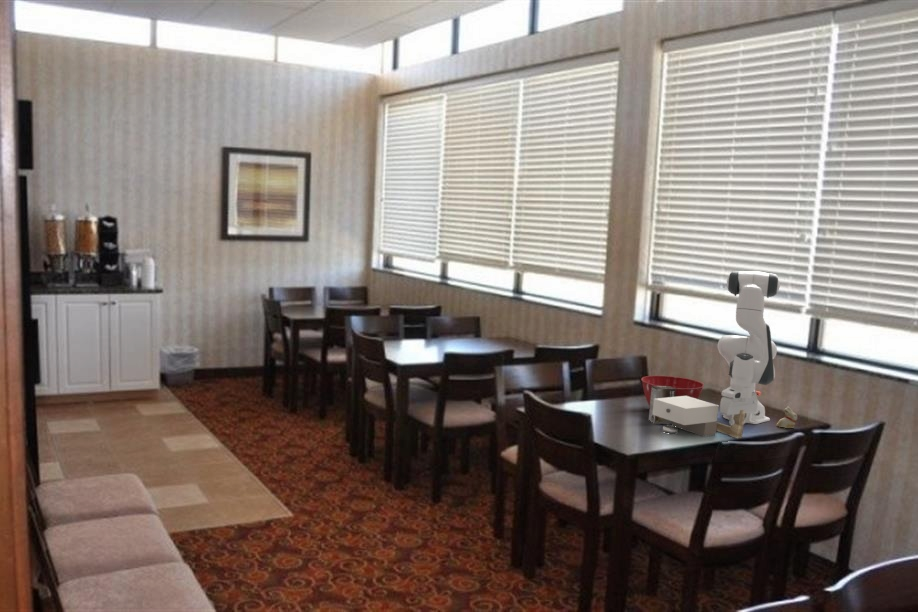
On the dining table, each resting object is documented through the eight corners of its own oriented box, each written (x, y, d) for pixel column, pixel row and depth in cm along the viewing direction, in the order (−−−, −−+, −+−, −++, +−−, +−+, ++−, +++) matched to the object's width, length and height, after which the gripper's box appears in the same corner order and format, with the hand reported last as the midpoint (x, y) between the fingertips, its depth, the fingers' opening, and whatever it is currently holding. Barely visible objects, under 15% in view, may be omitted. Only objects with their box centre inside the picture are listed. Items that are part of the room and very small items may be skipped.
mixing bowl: (637, 416, 372) (640, 383, 370) (639, 403, 400) (642, 372, 398) (701, 424, 366) (705, 390, 364) (698, 410, 393) (702, 379, 391)
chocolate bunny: (792, 430, 366) (795, 408, 365) (775, 426, 371) (777, 405, 370) (796, 428, 371) (799, 407, 369) (779, 424, 376) (781, 403, 374)
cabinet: (683, 424, 364) (686, 395, 362) (715, 435, 349) (718, 405, 347) (649, 428, 352) (652, 398, 351) (681, 439, 337) (684, 408, 336)
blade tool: (702, 424, 365) (705, 398, 364) (742, 437, 347) (745, 410, 346) (697, 425, 364) (700, 398, 362) (737, 438, 346) (740, 410, 344)
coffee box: (666, 420, 368) (670, 385, 367) (673, 424, 362) (676, 389, 360) (647, 420, 367) (651, 385, 365) (654, 424, 360) (657, 388, 358)
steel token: (669, 430, 352) (670, 424, 352) (680, 434, 347) (680, 428, 347) (659, 431, 349) (660, 425, 348) (670, 435, 344) (670, 429, 343)
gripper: (750, 388, 354) (747, 420, 356) (718, 391, 343) (715, 423, 345) (762, 392, 349) (759, 423, 350) (731, 395, 338) (727, 427, 339)
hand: (737, 423), depth 347 cm, fingers open, 5 cm apart
